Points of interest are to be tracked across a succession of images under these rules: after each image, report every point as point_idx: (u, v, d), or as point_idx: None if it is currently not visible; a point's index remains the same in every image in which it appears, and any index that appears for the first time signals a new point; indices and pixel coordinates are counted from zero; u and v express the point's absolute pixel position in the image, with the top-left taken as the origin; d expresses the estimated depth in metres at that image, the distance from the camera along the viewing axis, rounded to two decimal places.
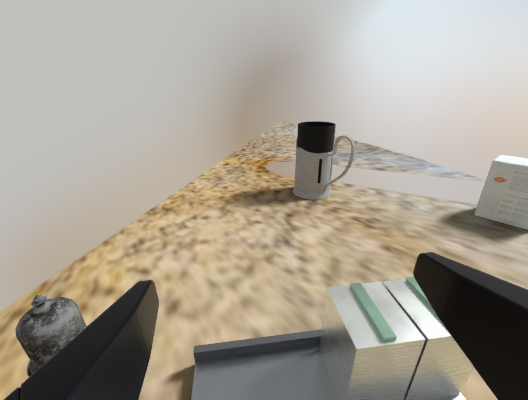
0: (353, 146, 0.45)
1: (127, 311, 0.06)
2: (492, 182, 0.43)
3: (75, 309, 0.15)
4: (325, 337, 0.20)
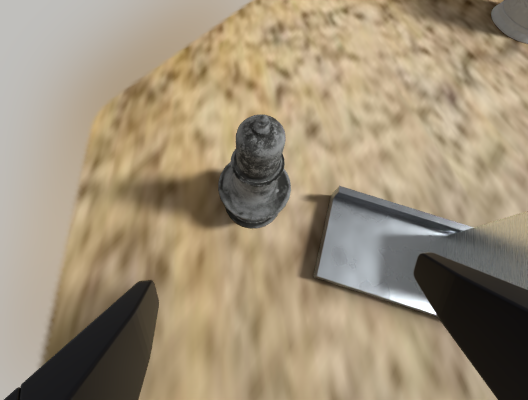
0: None
1: (127, 311, 0.06)
2: None
3: None
4: (471, 238, 0.20)
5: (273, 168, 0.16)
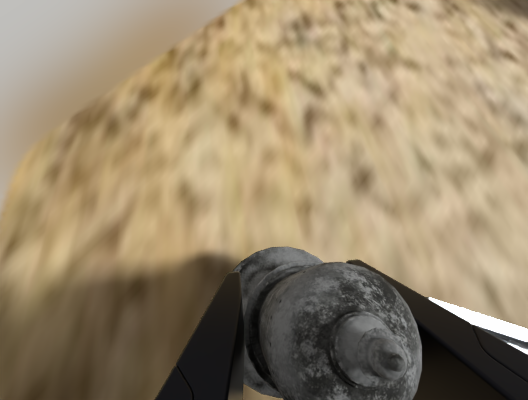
0: None
1: (234, 299, 0.07)
2: None
3: None
4: None
5: None
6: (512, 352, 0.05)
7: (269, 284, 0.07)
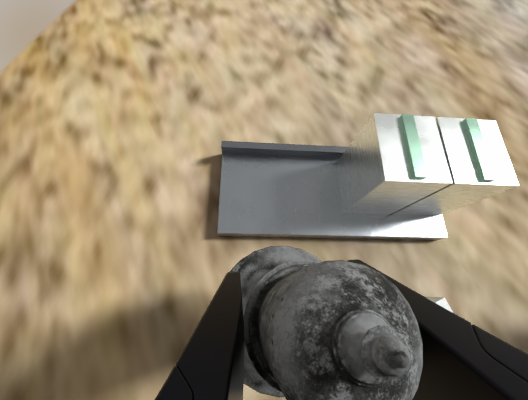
0: None
1: (234, 299, 0.07)
2: None
3: None
4: (348, 156, 0.21)
5: None
6: (512, 352, 0.05)
7: (269, 283, 0.07)
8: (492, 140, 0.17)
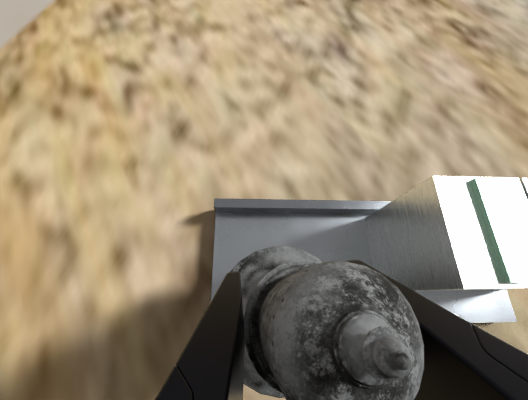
0: None
1: (234, 299, 0.07)
2: None
3: None
4: (385, 220, 0.16)
5: None
6: (512, 352, 0.05)
7: (269, 283, 0.07)
8: None
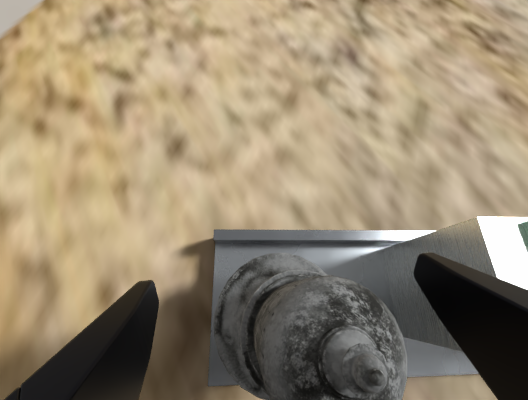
0: None
1: (127, 311, 0.06)
2: None
3: None
4: (410, 256, 0.14)
5: None
6: None
7: (265, 293, 0.08)
8: None
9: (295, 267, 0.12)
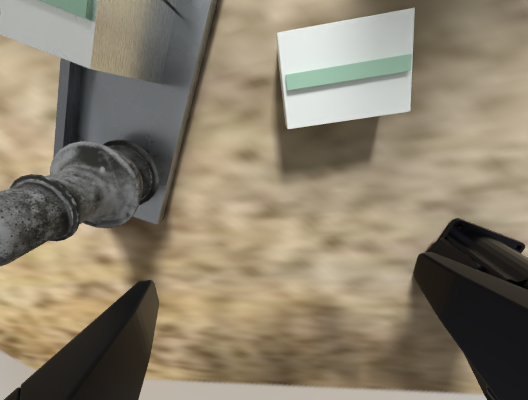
0: None
1: (127, 311, 0.06)
2: None
3: None
4: None
5: (47, 209, 0.12)
6: None
7: None
8: None
9: (58, 166, 0.16)
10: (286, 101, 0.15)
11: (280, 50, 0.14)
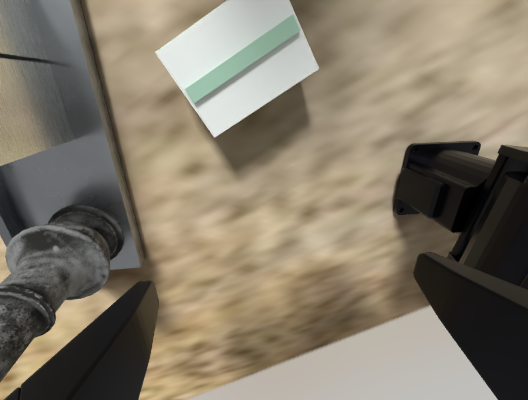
0: None
1: (127, 311, 0.06)
2: None
3: None
4: None
5: (13, 317, 0.12)
6: None
7: None
8: None
9: (13, 262, 0.16)
10: (199, 113, 0.14)
11: (167, 68, 0.13)
